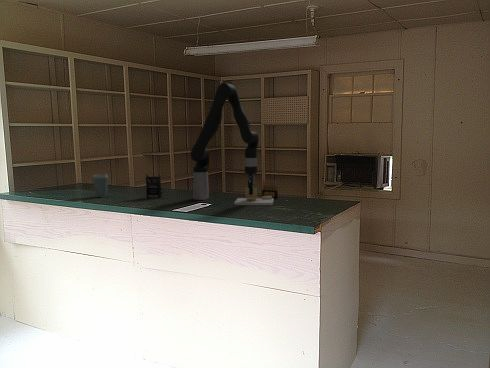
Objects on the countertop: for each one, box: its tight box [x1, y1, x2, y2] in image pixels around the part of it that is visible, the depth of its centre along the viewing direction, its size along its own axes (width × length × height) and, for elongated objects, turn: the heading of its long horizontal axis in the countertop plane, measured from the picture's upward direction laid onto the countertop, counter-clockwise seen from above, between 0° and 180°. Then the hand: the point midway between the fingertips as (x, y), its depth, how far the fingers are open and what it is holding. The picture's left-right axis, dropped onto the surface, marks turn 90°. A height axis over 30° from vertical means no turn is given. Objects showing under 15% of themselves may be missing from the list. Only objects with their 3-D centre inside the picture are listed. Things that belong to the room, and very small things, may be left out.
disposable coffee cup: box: [91, 173, 109, 198], centre depth 288 cm, size 11×11×15 cm
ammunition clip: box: [261, 178, 279, 200], centre depth 276 cm, size 11×2×12 cm, turn 63°
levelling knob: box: [244, 187, 261, 200], centre depth 260 cm, size 9×6×7 cm
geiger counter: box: [145, 174, 163, 199], centre depth 283 cm, size 10×4×15 cm, turn 84°
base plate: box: [233, 195, 275, 206], centre depth 259 cm, size 22×15×3 cm
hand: (251, 194), depth 260 cm, fingers closed on levelling knob
